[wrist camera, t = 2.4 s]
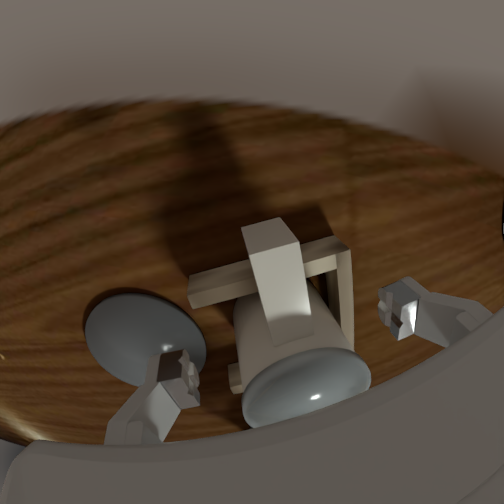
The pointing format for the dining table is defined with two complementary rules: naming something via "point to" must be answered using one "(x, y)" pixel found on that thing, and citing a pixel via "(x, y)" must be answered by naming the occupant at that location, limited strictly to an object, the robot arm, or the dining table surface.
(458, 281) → the dining table surface
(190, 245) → the dining table surface
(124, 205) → the dining table surface
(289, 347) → the white handled cylinder
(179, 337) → the mat
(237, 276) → the stand
